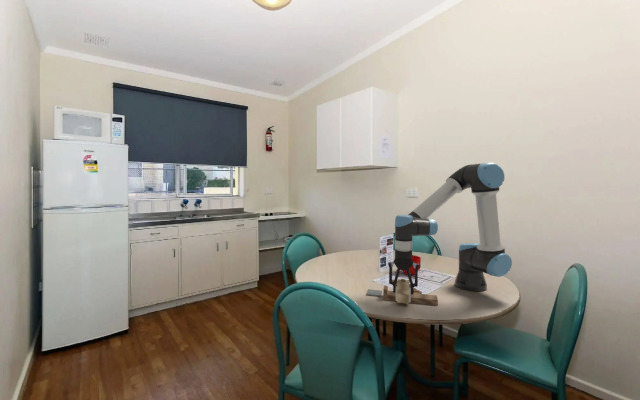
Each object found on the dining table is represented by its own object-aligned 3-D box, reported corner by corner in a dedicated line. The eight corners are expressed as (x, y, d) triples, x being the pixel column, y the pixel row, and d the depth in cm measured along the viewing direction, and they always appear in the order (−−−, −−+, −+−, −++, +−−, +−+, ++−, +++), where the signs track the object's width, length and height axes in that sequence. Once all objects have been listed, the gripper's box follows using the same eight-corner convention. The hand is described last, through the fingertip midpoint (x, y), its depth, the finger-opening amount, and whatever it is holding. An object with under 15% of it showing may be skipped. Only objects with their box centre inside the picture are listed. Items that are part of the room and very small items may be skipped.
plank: (436, 300, 135) (436, 290, 135) (437, 305, 130) (437, 294, 129) (384, 294, 143) (384, 285, 142) (383, 299, 137) (383, 289, 137)
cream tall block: (408, 299, 133) (409, 278, 132) (408, 303, 128) (409, 282, 127) (397, 298, 134) (397, 277, 134) (397, 302, 129) (397, 281, 129)
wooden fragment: (426, 296, 142) (426, 293, 142) (405, 297, 140) (405, 295, 140) (402, 279, 167) (402, 277, 167) (384, 280, 165) (384, 278, 165)
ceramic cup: (409, 279, 166) (410, 262, 166) (394, 271, 183) (394, 255, 182) (429, 277, 170) (429, 260, 169) (412, 269, 186) (412, 254, 186)
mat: (382, 291, 147) (382, 290, 147) (380, 296, 140) (380, 295, 140) (368, 290, 149) (368, 289, 149) (366, 295, 142) (366, 294, 142)
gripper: (424, 248, 131) (423, 299, 132) (383, 246, 136) (383, 295, 137) (425, 252, 124) (424, 305, 125) (382, 250, 129) (382, 301, 130)
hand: (403, 300), depth 131 cm, fingers closed on cream tall block, 5 cm apart
